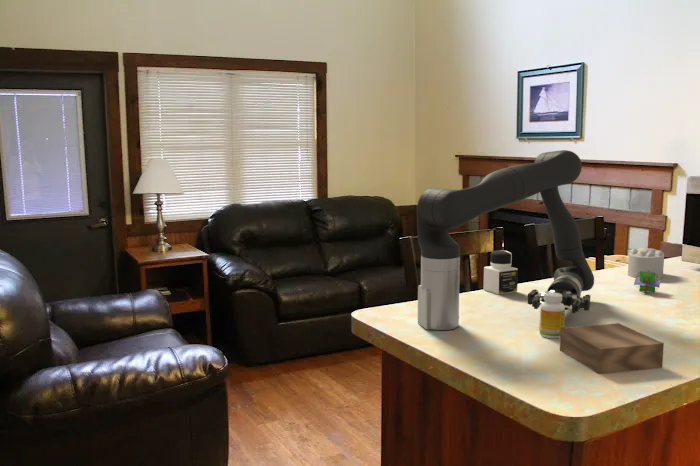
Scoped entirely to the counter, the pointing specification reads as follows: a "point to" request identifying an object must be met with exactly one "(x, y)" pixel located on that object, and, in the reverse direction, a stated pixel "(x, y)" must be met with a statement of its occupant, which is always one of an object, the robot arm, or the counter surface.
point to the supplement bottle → (552, 315)
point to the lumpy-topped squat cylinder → (645, 261)
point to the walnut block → (611, 348)
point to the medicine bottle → (500, 274)
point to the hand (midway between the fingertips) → (554, 306)
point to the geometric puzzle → (648, 281)
